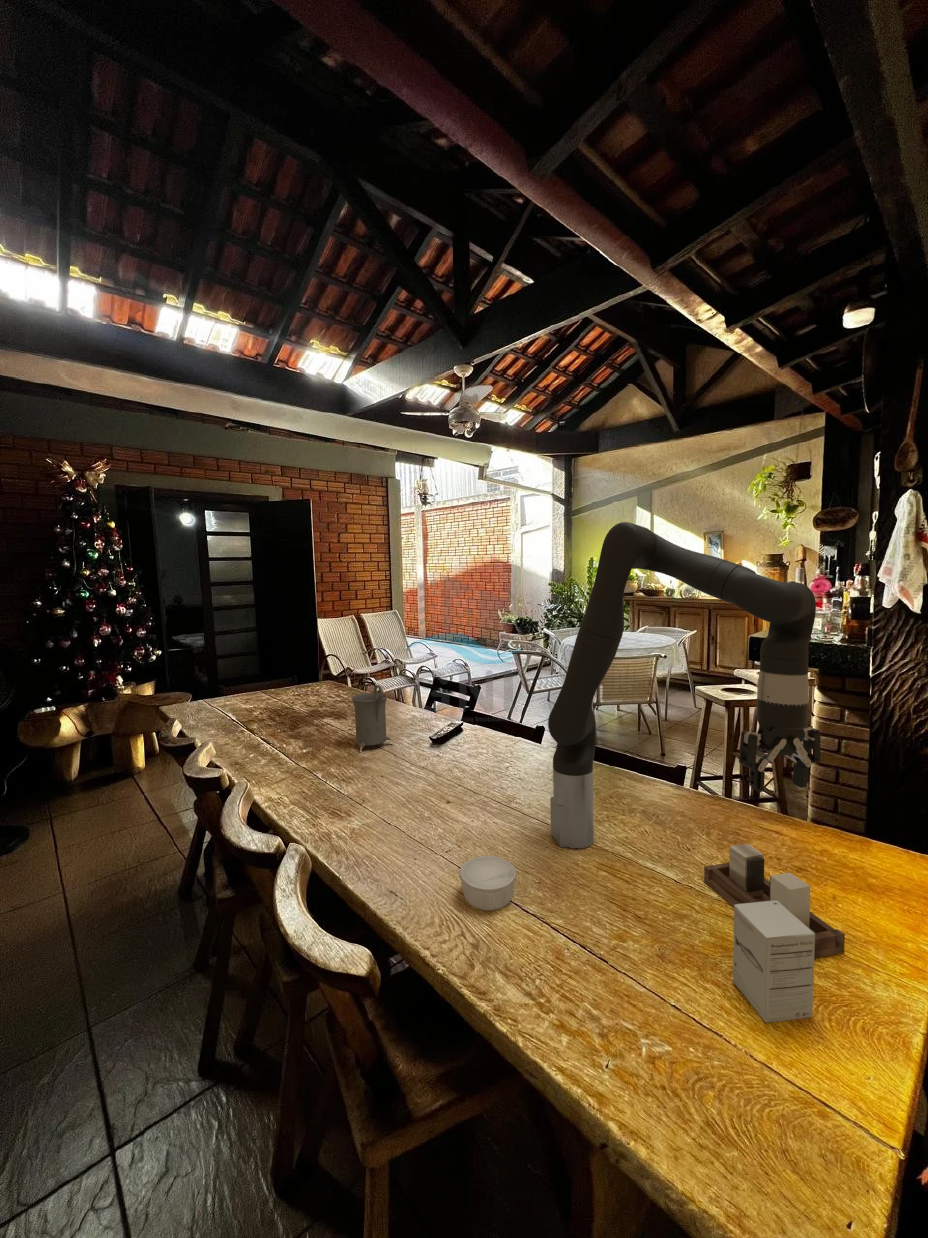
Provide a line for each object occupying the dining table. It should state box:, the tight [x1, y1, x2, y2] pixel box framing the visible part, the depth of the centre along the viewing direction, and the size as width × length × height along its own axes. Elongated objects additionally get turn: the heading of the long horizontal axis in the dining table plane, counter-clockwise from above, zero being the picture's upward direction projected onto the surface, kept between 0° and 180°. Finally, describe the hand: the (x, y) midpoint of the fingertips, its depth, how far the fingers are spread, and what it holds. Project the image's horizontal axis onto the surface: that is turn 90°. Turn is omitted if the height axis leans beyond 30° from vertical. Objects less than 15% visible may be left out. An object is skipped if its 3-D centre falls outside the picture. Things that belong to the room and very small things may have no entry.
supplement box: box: [732, 901, 815, 1023], centre depth 71 cm, size 7×7×13 cm
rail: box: [703, 843, 846, 960], centre depth 90 cm, size 9×22×9 cm, turn 11°
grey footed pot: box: [351, 684, 392, 748], centre depth 189 cm, size 19×15×25 cm
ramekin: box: [459, 855, 517, 912], centre depth 97 cm, size 11×11×5 cm
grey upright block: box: [769, 872, 811, 928], centre depth 85 cm, size 4×5×8 cm
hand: (778, 788), depth 87 cm, fingers open, 8 cm apart
